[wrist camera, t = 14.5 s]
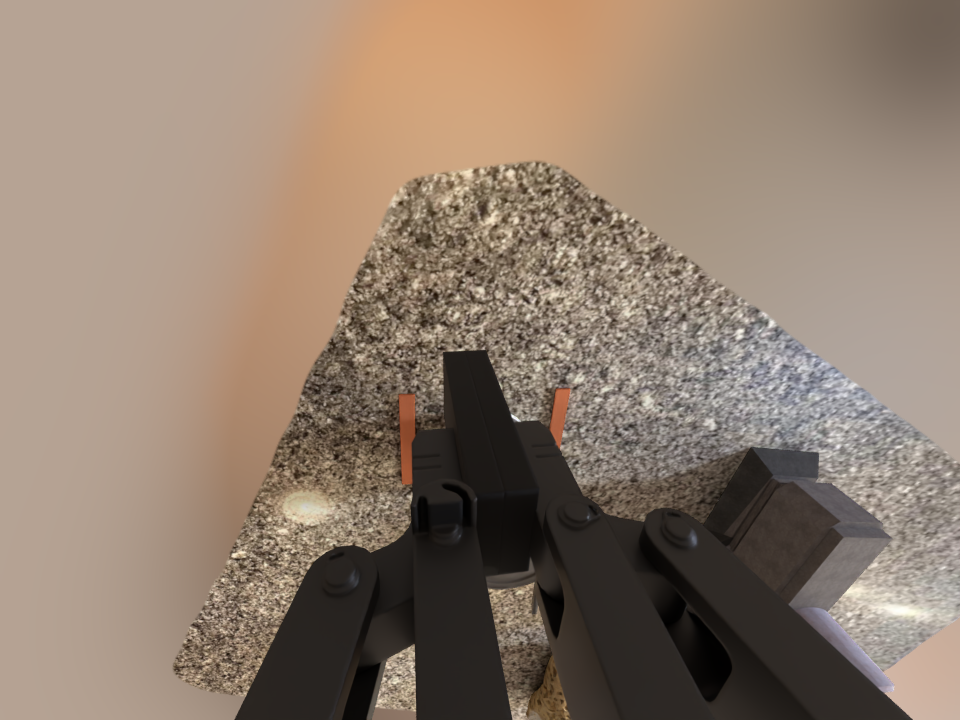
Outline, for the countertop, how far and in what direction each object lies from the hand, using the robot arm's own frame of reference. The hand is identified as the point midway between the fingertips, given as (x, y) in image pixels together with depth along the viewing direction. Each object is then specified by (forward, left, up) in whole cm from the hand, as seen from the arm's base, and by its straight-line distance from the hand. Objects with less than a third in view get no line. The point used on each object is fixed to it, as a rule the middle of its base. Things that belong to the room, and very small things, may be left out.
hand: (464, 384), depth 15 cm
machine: (+41, +46, -24) cm, 66 cm away
